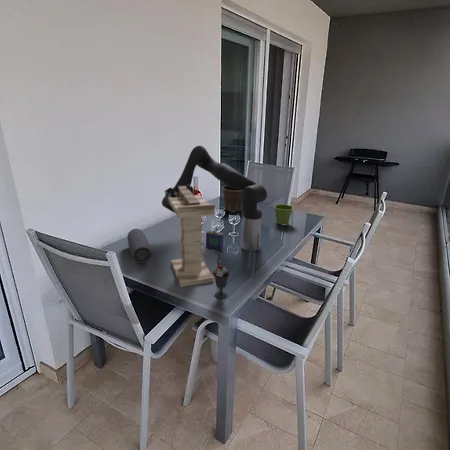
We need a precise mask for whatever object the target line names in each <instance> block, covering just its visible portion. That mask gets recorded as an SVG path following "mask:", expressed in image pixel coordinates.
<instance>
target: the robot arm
mask: <svg viewBox="0 0 450 450" xmlns="http://www.w3.org/2000/svg"><path fill="white" fill-rule="evenodd" d="M196 167H199V168H200V169H202V170H204V171H207V172H208V173H210V174H211V175H212V176H213V177H214V178H216V179H217V180H218V181H219V182H221V183H222V184H224V186H225V185H227V186H230V187H234V188H237V189H240V190H243V193H242V211H241V212H242V214H243V216H242V230H241V231H242V233H241V248H242V249H243V251H247V252H255V250H259V251H260V245H261V234H262V230H261V229H262V219H263V218H262V217H263V216H262V213H263V212H262V211H261V210H260V209H258V204H260V203H262V202H264V201H266V199H267V198H268V192H267V189H266V188H265V187H264V186H263V185H262V184H260V183H259V182H256V181H254V180H252V179H250V178H249V177H247V176H245V175H244V174H242V173H240V172H239V171H238V170H236V169H235V168H233V167H232V166H230V165H229V164H226V163H225V162H224V163H222V162H218V161H217V160H215V159H214V158H213V157H212V156H211V155H210V154H209V152H208V150H207V149H206V148H205V147H204V146H203V145H196V146H195V147H193V149H192V150H191V152H190V154H189V156H188V158H187V161H186V164H185V165H184V169H183V171H182V173H181V175H180V177H179V179H178V181H176V184H175V185H174V187H173V188H172V187H169V188H167V189H165V190H164V197H163V198H162V201H161V205H162V206H163V208H166V209H167V210H169V211H171V212H172V213H175V211H174V210H173V208H172V207H171V205H170V203H169V198H174V197H180V195H179V194H178V190H179V187H178V186H186V187H187V188H188V189H189V190H190V191H191V193H192V194H193V195H194V194H195V192H194V187H193V186H192V181H193V178H194V177H193V176H194V173H195V169H196ZM175 214H176V213H175Z"/></svg>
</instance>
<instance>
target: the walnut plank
mask: <svg viewBox="0 0 450 450" xmlns="http://www.w3.org/2000/svg"><path fill="white" fill-rule="evenodd" d="M178 187H179V190H178V194H179V195H180V197H181V198H182V199H183V201H184V202H185V203H186V205H187V206H191V205H200V202H199V201H198V199H197V198H196V197H195V196H196V195H194V194H192V193H191V191H190V190H189V189H188V188H187V187H186V186H178Z"/></svg>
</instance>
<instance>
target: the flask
mask: <svg viewBox="0 0 450 450" xmlns="http://www.w3.org/2000/svg"><path fill="white" fill-rule="evenodd" d="M205 234H206V235H205V248H206V249H207V250H211V251H218V252H221V251H224V236H225V235H224V233H223V232H217V229H213V231H211V230H209V231H206V232H205Z"/></svg>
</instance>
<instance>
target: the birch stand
mask: <svg viewBox="0 0 450 450" xmlns="http://www.w3.org/2000/svg"><path fill="white" fill-rule="evenodd" d="M194 196H195V197H196V198H197V199H198V201H199V202H200V205H191V206H187V205H186V203H185V202H184V201H183V199H182V198H181V197H174V198H169V203H170V205H171V207H172V208H173V210H174V211H175V214H176V217H177V218H178V219H180V244H181V245H180V249H181V254H180V255H181V258H179V259H173V260H170V261H171V262H170V263H171V264H170V265H171V267H172V269H173V271H174V274H175V277H176V280H177V281H178V284H179V287H180V288H182V287H183V288H184V287H188V286H194V285H199V284H200V285H201V284H207V283H213V282H214V275H213V273H211V271H210V269H209V268H208V266H207V265H206V263H205V261H204V260H203V258H202V217H203V216H204V217H205V216H215V212H216V210H215V207H216V205H215V204H214V203H208V201H206V200H205V198H204V197H203V196H201V195H194Z"/></svg>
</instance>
